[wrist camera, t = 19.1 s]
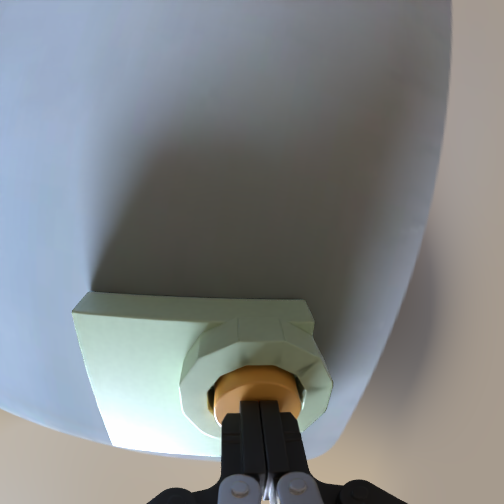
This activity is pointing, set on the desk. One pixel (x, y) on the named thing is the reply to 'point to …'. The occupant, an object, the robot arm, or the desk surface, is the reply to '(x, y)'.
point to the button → (255, 389)
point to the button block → (189, 362)
